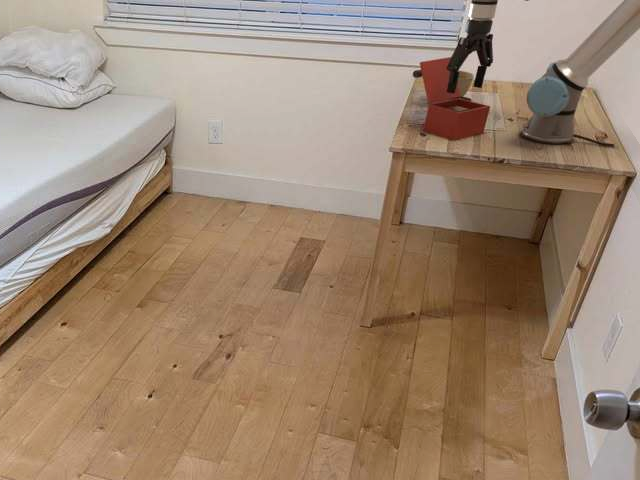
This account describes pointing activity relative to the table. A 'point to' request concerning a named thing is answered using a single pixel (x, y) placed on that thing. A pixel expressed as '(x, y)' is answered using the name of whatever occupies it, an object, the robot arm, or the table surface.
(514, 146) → the table surface
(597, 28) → the robot arm
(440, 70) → the lid
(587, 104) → the table surface
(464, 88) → the planter bowl
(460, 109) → the block
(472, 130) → the chest
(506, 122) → the table surface
